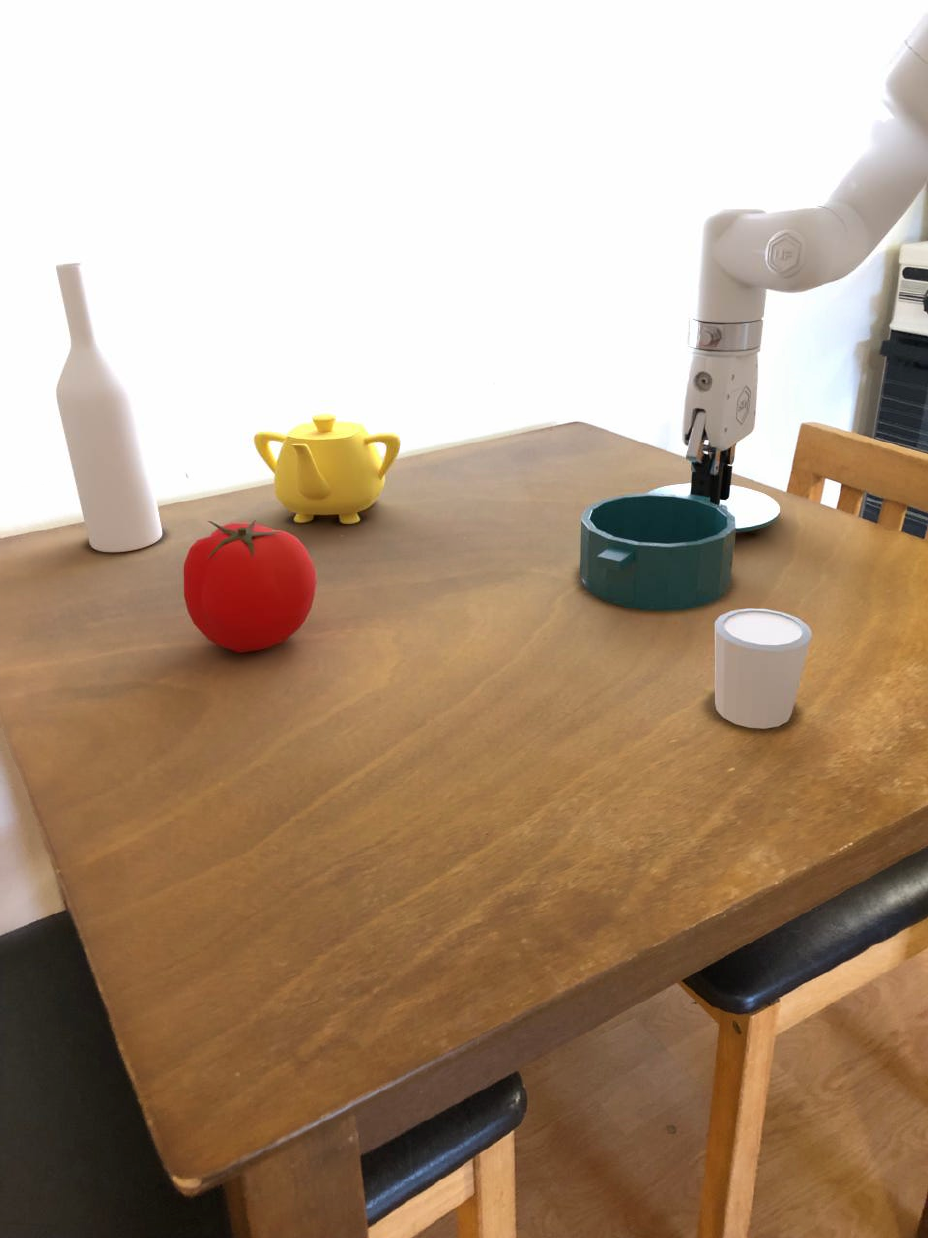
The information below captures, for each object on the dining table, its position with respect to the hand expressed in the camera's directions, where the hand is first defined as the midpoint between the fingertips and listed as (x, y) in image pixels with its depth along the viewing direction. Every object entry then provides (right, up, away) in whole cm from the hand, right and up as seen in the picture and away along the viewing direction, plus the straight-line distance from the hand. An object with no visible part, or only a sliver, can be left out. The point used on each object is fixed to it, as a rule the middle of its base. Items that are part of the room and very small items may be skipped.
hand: (709, 500), depth 106 cm
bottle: (-67, -4, +2) cm, 67 cm away
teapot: (-44, -1, +7) cm, 45 cm away
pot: (-9, -9, -13) cm, 18 cm away
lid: (0, -1, 0) cm, 1 cm away
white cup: (-6, -21, -35) cm, 41 cm away
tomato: (-47, -16, -22) cm, 54 cm away
